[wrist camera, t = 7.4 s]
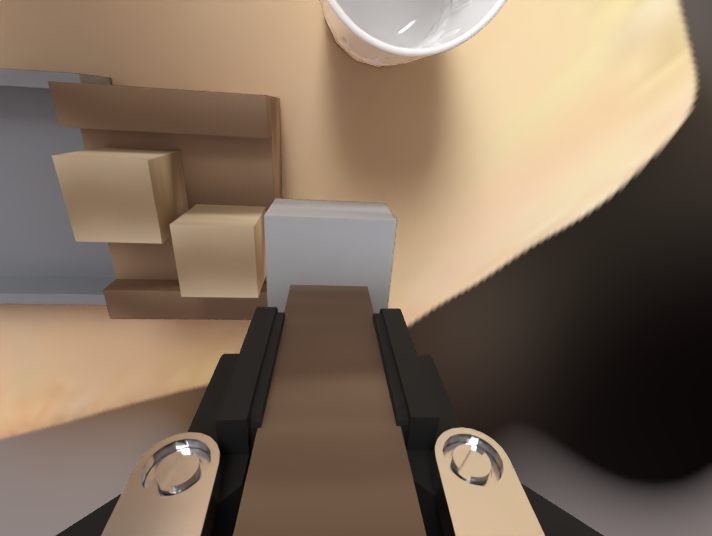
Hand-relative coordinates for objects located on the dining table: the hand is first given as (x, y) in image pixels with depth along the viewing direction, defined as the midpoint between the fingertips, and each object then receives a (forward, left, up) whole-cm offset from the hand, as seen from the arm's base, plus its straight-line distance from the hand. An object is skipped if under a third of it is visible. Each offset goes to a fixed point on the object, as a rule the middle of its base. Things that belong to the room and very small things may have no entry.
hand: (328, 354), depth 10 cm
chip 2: (+1, -6, -13) cm, 14 cm away
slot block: (0, -8, -17) cm, 19 cm away
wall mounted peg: (0, 0, -5) cm, 5 cm away
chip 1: (-2, -10, -13) cm, 17 cm away
